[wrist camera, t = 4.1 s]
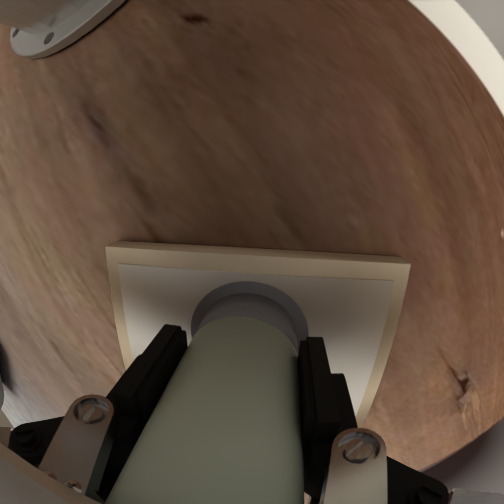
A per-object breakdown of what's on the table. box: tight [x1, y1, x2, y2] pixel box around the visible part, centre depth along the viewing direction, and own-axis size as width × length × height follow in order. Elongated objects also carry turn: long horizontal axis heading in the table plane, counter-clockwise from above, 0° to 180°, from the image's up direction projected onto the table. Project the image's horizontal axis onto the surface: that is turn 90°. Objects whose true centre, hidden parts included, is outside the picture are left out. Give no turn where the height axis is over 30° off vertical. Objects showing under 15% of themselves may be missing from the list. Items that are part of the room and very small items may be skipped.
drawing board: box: [105, 241, 411, 428], centre depth 13 cm, size 18×13×1 cm
